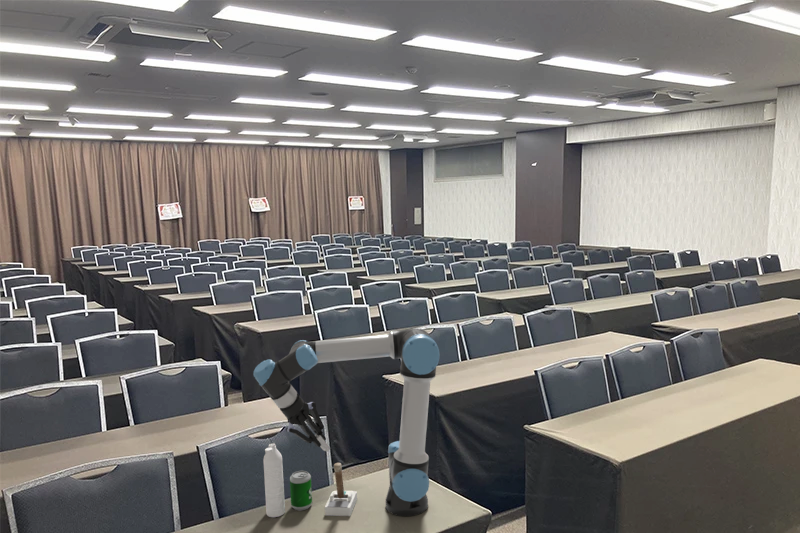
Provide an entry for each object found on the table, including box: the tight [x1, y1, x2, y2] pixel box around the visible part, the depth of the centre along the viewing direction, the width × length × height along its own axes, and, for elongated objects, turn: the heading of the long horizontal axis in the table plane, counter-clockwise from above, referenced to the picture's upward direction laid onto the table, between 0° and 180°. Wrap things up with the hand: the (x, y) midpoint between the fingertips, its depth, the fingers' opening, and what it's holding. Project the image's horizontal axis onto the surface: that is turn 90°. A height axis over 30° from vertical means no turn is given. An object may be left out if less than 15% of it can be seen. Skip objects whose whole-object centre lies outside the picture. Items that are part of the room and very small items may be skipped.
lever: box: [333, 462, 348, 499], centre depth 201 cm, size 5×3×14 cm, turn 83°
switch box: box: [324, 489, 358, 517], centre depth 203 cm, size 9×12×5 cm
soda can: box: [289, 470, 313, 512], centre depth 204 cm, size 8×8×12 cm
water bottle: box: [262, 442, 286, 518], centre depth 199 cm, size 9×6×25 cm
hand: (326, 449), depth 194 cm, fingers closed
